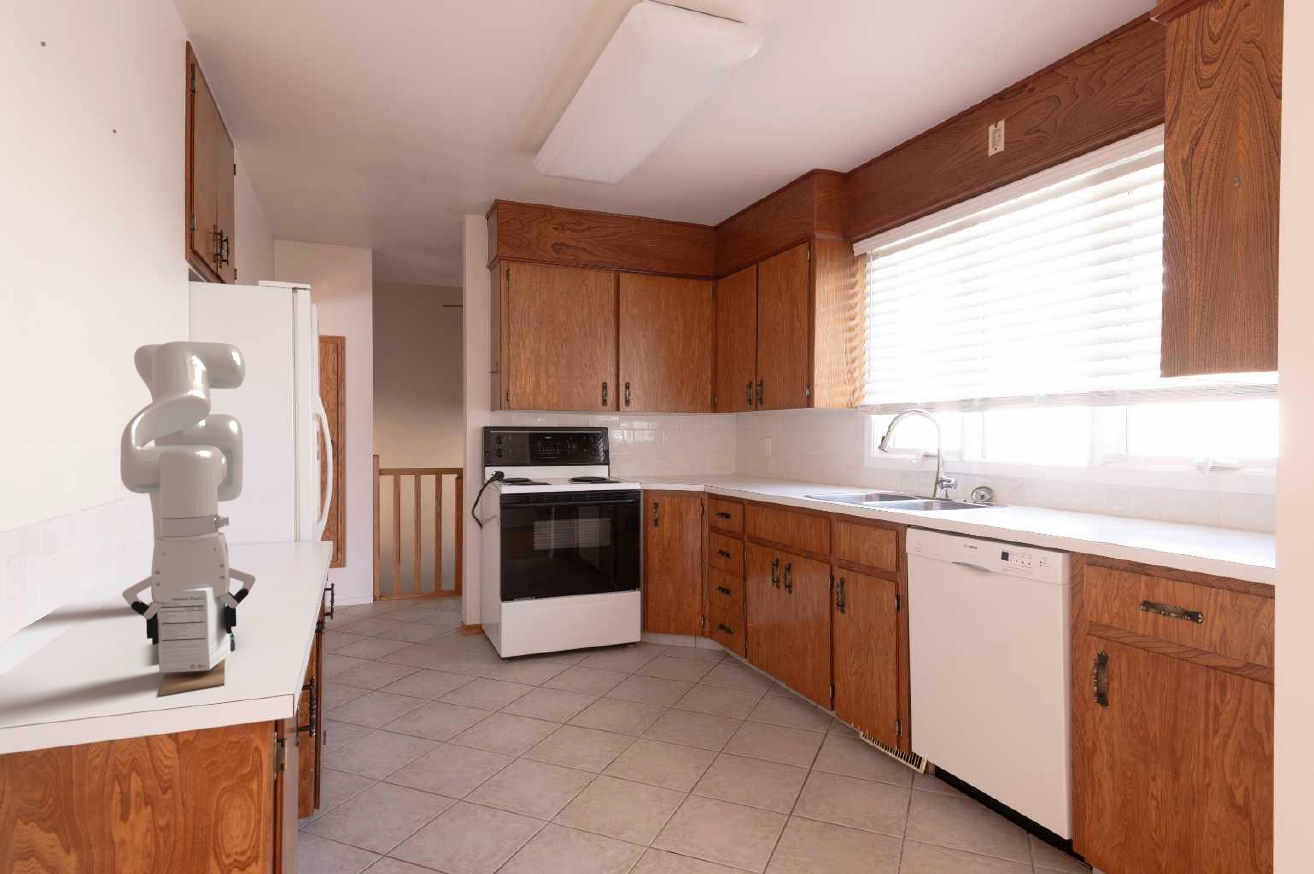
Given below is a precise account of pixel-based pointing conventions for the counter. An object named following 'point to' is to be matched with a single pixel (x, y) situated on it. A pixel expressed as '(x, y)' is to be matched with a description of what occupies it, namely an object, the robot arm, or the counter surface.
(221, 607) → the supplement box
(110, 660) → the counter surface
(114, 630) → the counter surface
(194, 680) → the flat brown wooden pieces
